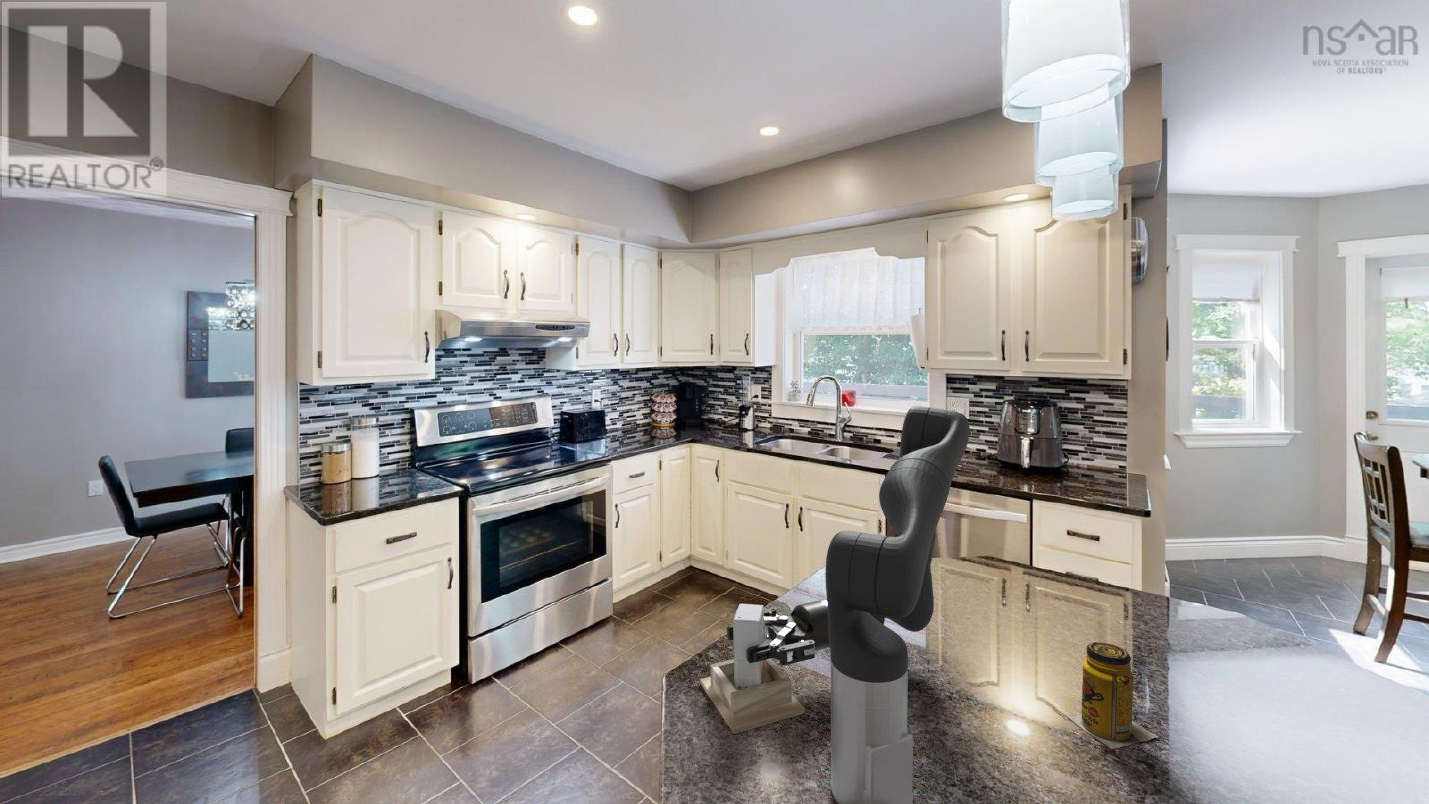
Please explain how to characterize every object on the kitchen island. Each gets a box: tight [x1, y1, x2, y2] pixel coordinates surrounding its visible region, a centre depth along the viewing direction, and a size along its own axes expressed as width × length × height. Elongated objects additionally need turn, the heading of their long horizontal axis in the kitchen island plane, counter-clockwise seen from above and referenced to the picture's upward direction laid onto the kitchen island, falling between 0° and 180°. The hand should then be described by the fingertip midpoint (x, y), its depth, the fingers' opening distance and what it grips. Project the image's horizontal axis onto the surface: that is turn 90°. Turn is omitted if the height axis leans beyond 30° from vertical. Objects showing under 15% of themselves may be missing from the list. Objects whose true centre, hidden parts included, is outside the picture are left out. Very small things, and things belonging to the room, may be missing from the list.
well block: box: [699, 658, 806, 735], centre depth 91 cm, size 14×12×4 cm
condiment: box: [1067, 641, 1159, 750], centre depth 82 cm, size 7×8×12 cm
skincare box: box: [732, 603, 765, 691], centre depth 91 cm, size 6×4×12 cm
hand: (737, 644), depth 90 cm, fingers closed on skincare box, 7 cm apart
